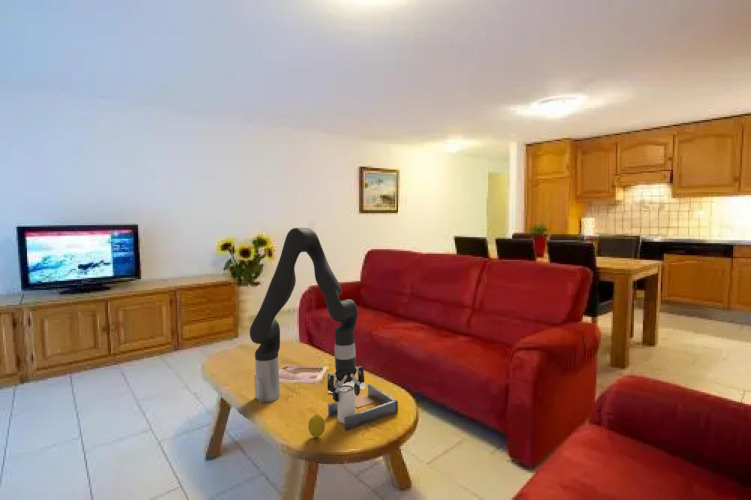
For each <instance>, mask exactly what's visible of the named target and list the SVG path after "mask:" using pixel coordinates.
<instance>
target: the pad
mask: <svg viewBox="0 0 751 500" xmlns="http://www.w3.org/2000/svg"><path fill="white" fill-rule="evenodd" d="M375 403H376V402H375V401H374V400H373V399H372V398H371V397H368V396H367V395H365V394H361V395H358V396H355V408H356V409H360V408H362V407H365V406H369V405H371V404H375Z"/></svg>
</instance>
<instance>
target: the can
mask: <svg viewBox="0 0 751 500" xmlns="http://www.w3.org/2000/svg"><path fill="white" fill-rule="evenodd" d="M338 392H339V402H337V410H338V414H337V421H338V422H339V423H340V424H343V425H345V421H344V417H347V416H350V415H353V414H356V407H355V397H356V396H355V392H354V387H352V386H349V385H342V387H340V389H339V391H338Z"/></svg>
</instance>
